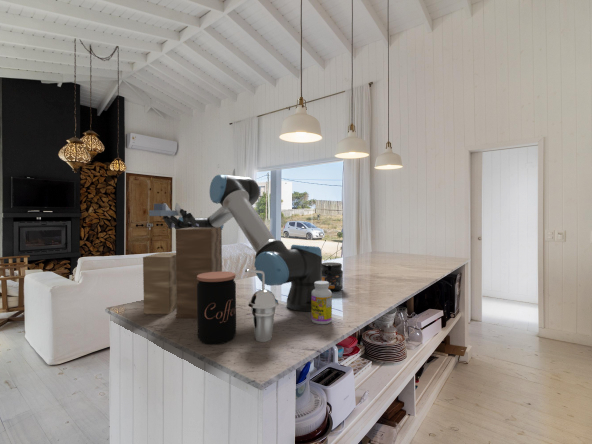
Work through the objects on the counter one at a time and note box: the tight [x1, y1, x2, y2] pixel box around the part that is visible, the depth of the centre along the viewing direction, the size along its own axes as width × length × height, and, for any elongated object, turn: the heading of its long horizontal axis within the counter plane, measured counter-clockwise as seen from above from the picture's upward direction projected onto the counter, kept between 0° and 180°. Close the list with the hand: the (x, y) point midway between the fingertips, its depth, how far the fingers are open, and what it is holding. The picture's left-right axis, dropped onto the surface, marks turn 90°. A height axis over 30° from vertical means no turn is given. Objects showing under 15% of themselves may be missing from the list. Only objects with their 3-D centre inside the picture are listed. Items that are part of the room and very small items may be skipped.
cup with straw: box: [244, 269, 279, 343], centre depth 91 cm, size 8×9×20 cm
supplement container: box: [322, 261, 344, 293], centre depth 149 cm, size 10×10×12 cm
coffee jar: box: [196, 270, 237, 345], centre depth 91 cm, size 11×11×18 cm
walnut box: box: [175, 227, 223, 319], centre depth 116 cm, size 14×12×30 cm
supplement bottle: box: [310, 281, 333, 325], centre depth 105 cm, size 7×7×13 cm
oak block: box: [142, 252, 177, 315], centre depth 120 cm, size 14×9×20 cm, turn 179°
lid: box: [148, 203, 180, 217], centre depth 123 cm, size 20×4×4 cm, turn 179°
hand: (170, 206), depth 126 cm, fingers closed on lid, 4 cm apart
